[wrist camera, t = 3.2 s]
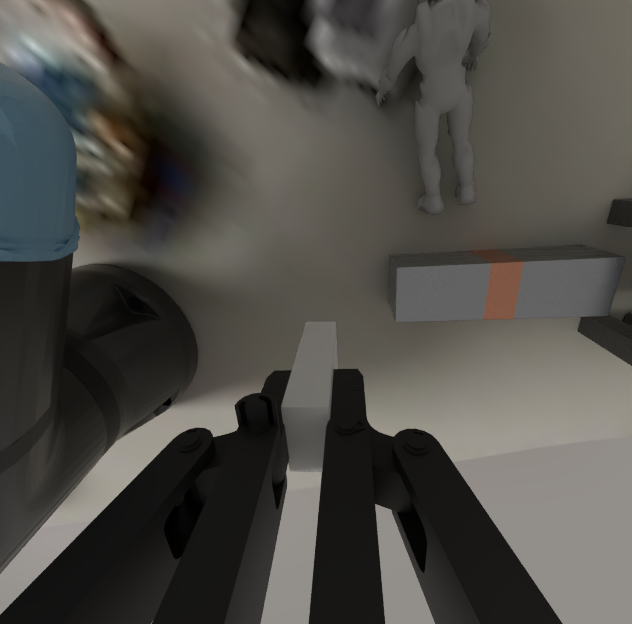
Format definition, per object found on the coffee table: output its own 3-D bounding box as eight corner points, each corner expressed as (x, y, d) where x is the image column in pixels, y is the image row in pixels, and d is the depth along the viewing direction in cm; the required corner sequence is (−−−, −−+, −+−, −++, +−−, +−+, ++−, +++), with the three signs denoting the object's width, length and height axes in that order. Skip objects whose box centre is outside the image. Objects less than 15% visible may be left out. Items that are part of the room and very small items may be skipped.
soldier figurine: (473, 169, 24) (473, -58, 16) (507, 196, 20) (527, -85, 12) (391, 196, 25) (356, -3, 18) (408, 227, 21) (371, -12, 14)
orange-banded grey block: (388, 302, 26) (395, 322, 23) (389, 255, 25) (397, 267, 21) (568, 295, 25) (607, 315, 21) (581, 245, 23) (626, 257, 20)
